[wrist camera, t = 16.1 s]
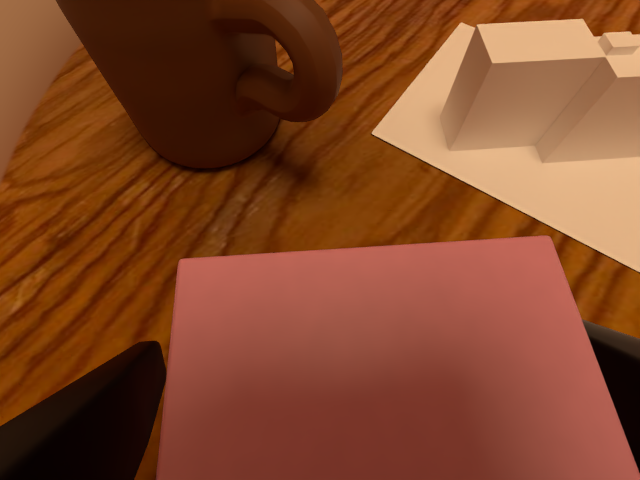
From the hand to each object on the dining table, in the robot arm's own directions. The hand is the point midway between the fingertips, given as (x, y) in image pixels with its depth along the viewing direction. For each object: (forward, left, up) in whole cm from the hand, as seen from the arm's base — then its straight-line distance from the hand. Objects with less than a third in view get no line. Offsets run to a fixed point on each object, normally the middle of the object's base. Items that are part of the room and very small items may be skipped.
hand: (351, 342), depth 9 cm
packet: (-1, -1, -6) cm, 6 cm away
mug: (+8, +10, -7) cm, 14 cm away
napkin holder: (+16, -4, -7) cm, 18 cm away
